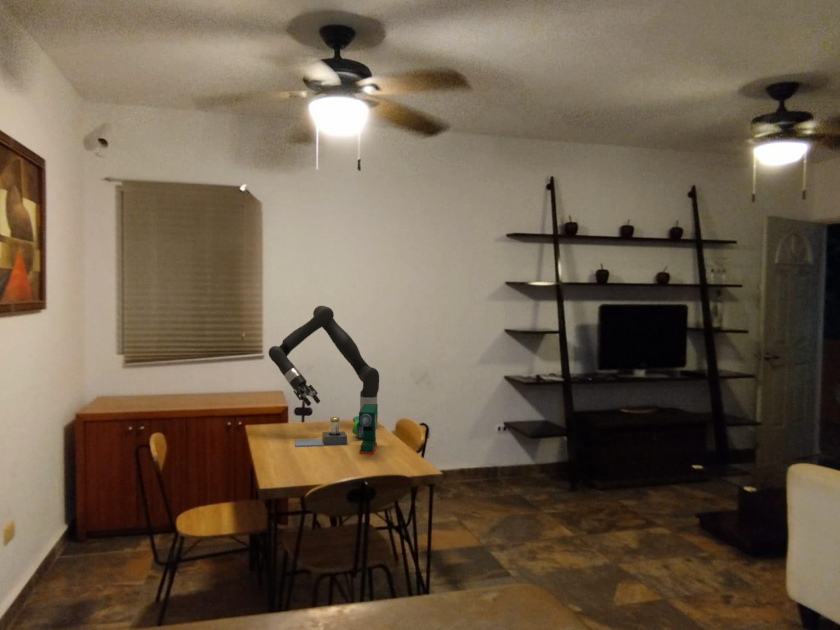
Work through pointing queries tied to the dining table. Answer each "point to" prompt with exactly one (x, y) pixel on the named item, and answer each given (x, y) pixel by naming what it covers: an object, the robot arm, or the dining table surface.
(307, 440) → the mat
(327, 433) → the socket block
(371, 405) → the power tool
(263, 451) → the dining table surface
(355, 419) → the snack cup
